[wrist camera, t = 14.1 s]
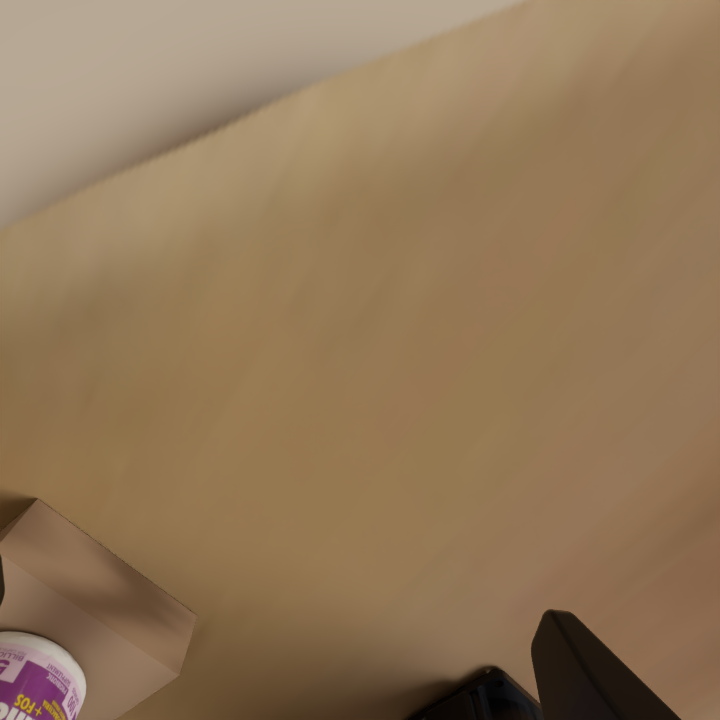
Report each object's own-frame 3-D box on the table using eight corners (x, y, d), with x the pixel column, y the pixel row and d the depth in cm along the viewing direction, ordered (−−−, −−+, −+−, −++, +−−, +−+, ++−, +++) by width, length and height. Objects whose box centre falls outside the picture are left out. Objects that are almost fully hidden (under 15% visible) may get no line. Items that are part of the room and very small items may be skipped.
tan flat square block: (197, 616, 25) (179, 675, 22) (75, 703, 27) (45, 768, 24) (37, 498, 22) (-6, 550, 19) (-85, 606, 24) (-140, 666, 22)
